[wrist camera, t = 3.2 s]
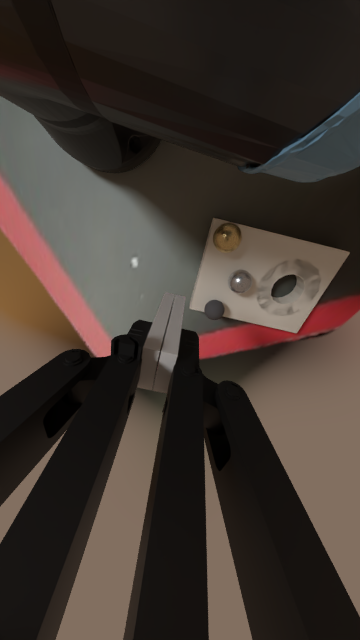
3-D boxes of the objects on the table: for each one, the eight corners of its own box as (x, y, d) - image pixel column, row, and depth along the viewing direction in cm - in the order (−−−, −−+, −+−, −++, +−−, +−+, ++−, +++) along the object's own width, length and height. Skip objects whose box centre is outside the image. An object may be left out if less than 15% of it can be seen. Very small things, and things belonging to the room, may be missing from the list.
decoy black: (201, 311, 30) (202, 321, 27) (207, 294, 28) (208, 303, 26) (219, 315, 30) (222, 325, 27) (226, 299, 28) (228, 307, 26)
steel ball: (223, 285, 27) (226, 294, 25) (230, 264, 26) (234, 270, 23) (244, 290, 28) (249, 299, 25) (253, 269, 26) (259, 276, 23)
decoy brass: (208, 247, 25) (210, 251, 22) (216, 218, 23) (219, 219, 20) (233, 252, 25) (238, 258, 22) (243, 225, 23) (249, 227, 20)
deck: (190, 302, 32) (189, 308, 30) (212, 217, 25) (214, 218, 23) (290, 325, 33) (296, 333, 31) (337, 248, 26) (350, 252, 24)
